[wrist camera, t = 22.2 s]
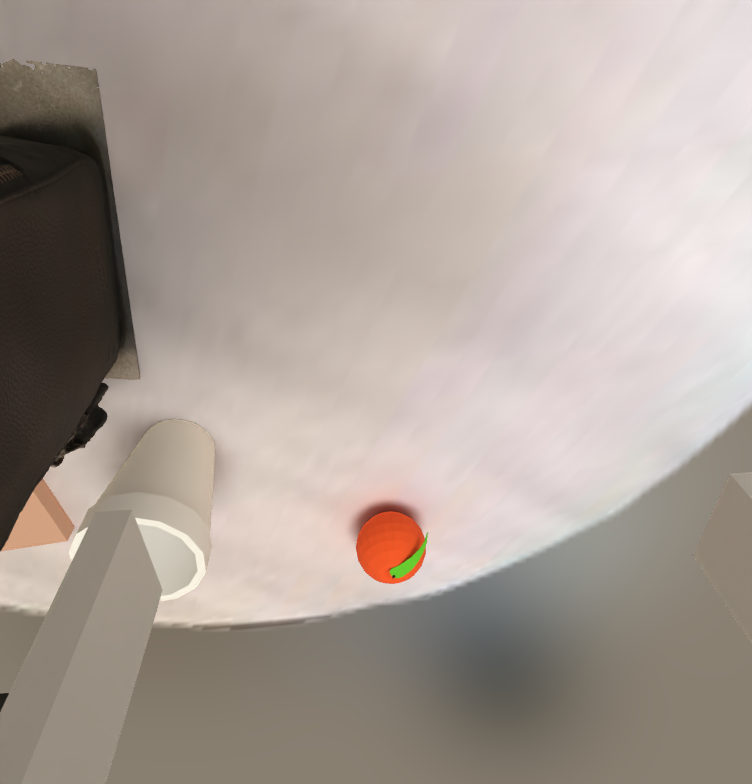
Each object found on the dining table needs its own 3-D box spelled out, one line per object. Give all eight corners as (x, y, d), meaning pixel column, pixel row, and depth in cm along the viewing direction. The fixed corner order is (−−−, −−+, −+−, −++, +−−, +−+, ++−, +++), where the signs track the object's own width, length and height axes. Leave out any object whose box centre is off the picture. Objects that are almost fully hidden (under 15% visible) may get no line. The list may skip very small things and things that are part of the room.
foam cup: (240, 418, 50) (215, 530, 39) (224, 491, 55) (197, 608, 44) (129, 395, 48) (69, 507, 37) (122, 473, 52) (67, 592, 42)
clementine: (399, 480, 55) (406, 536, 49) (442, 515, 58) (454, 571, 52) (341, 521, 58) (341, 578, 52) (385, 551, 61) (390, 609, 55)
